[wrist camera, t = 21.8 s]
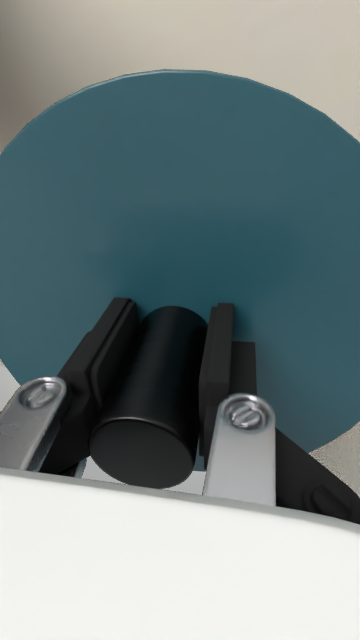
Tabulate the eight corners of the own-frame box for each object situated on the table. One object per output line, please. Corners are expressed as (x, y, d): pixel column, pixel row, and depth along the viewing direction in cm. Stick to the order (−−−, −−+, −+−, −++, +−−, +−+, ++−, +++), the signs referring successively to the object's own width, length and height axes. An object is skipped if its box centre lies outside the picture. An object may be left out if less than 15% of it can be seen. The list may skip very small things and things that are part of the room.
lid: (43, 432, 18) (-36, 561, 13) (-80, 86, 10) (-408, 68, 5) (348, 468, 16) (397, 640, 11) (498, 55, 8) (968, -36, 3)
